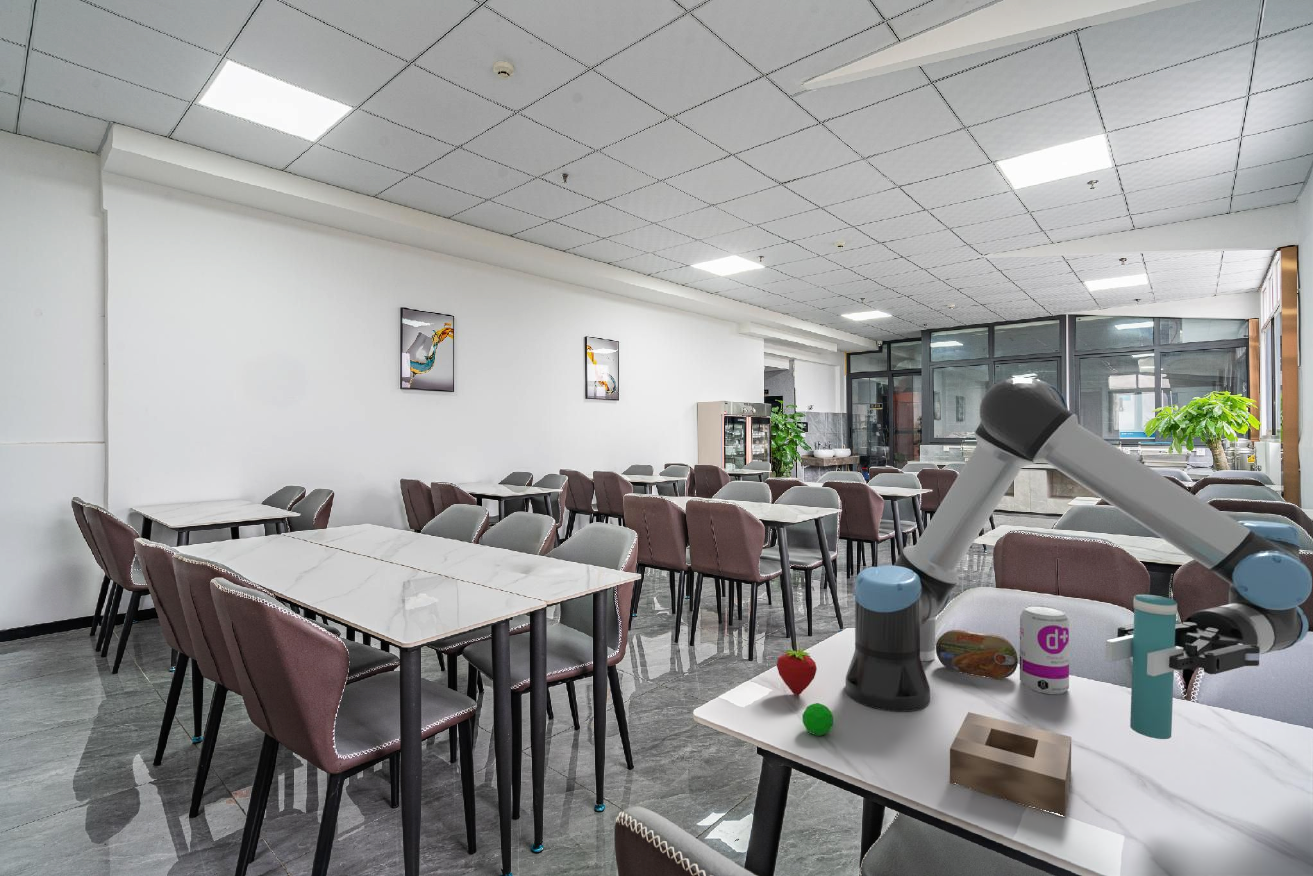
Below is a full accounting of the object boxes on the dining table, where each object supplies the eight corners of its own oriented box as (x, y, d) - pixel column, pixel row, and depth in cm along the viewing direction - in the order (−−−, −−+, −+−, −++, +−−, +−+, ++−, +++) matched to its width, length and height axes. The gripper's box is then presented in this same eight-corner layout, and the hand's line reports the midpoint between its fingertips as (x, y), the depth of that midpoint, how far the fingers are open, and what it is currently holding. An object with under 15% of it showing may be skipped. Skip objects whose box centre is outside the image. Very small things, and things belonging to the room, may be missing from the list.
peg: (1129, 732, 86) (1134, 600, 85) (1129, 719, 89) (1133, 592, 89) (1173, 743, 83) (1178, 606, 82) (1171, 729, 87) (1175, 598, 86)
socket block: (949, 782, 92) (949, 748, 92) (967, 742, 103) (968, 712, 103) (1064, 817, 84) (1065, 780, 84) (1070, 769, 95) (1071, 736, 95)
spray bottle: (920, 664, 136) (921, 580, 136) (895, 653, 142) (895, 573, 142) (942, 658, 139) (942, 576, 139) (916, 648, 146) (916, 570, 145)
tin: (935, 668, 134) (935, 628, 134) (937, 663, 137) (937, 624, 137) (1017, 683, 126) (1017, 641, 126) (1018, 678, 129) (1018, 636, 129)
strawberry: (780, 685, 126) (780, 635, 125) (819, 691, 123) (819, 640, 122) (773, 697, 120) (773, 644, 120) (813, 704, 117) (814, 650, 117)
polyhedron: (797, 733, 106) (797, 705, 106) (811, 723, 110) (811, 696, 110) (824, 744, 103) (824, 714, 103) (838, 733, 107) (838, 704, 107)
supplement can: (1077, 696, 120) (1078, 617, 120) (1031, 694, 121) (1031, 616, 121) (1056, 679, 128) (1056, 605, 128) (1012, 677, 129) (1012, 604, 129)
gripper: (1304, 682, 85) (1207, 714, 76) (1158, 639, 101) (1062, 662, 92) (1307, 626, 85) (1209, 652, 75) (1159, 592, 101) (1063, 610, 91)
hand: (1129, 657), depth 84 cm, fingers closed on peg, 4 cm apart
